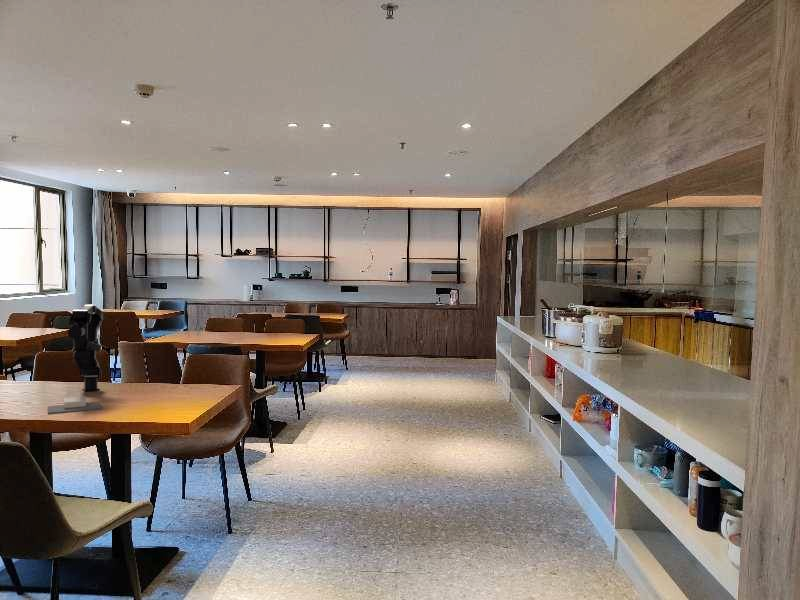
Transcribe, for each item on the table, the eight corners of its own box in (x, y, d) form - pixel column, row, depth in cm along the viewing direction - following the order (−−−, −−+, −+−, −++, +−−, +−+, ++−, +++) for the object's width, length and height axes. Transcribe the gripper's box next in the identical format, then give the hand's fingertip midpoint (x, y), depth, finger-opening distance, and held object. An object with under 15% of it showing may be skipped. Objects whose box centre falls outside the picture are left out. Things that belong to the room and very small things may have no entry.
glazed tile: (63, 398, 253) (64, 402, 244) (84, 396, 257) (85, 400, 249) (63, 404, 253) (64, 408, 244) (84, 402, 257) (85, 406, 249)
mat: (47, 407, 248) (47, 406, 248) (99, 403, 259) (99, 401, 259) (47, 414, 237) (47, 412, 237) (102, 409, 248) (102, 407, 248)
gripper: (101, 338, 264) (102, 371, 265) (98, 334, 280) (98, 366, 281) (74, 339, 258) (74, 373, 259) (72, 335, 274) (72, 367, 275)
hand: (80, 370), depth 268 cm, fingers closed
